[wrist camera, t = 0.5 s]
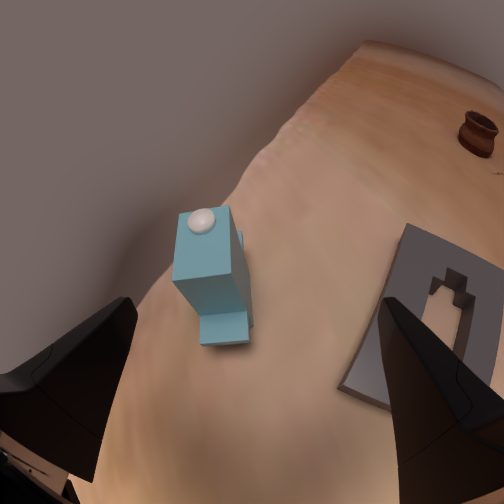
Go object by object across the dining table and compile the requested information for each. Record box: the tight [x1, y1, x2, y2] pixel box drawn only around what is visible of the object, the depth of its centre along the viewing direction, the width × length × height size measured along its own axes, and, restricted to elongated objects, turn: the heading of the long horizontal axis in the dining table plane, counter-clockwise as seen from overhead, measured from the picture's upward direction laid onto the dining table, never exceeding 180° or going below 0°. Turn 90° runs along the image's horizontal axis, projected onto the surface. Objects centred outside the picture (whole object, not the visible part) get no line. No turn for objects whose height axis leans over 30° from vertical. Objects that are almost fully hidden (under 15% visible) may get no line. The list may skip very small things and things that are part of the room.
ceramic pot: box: [459, 110, 502, 175], centre depth 35 cm, size 18×18×7 cm
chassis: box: [337, 223, 504, 412], centre depth 20 cm, size 18×14×3 cm
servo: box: [172, 205, 253, 346], centre depth 23 cm, size 11×4×11 cm, turn 4°
